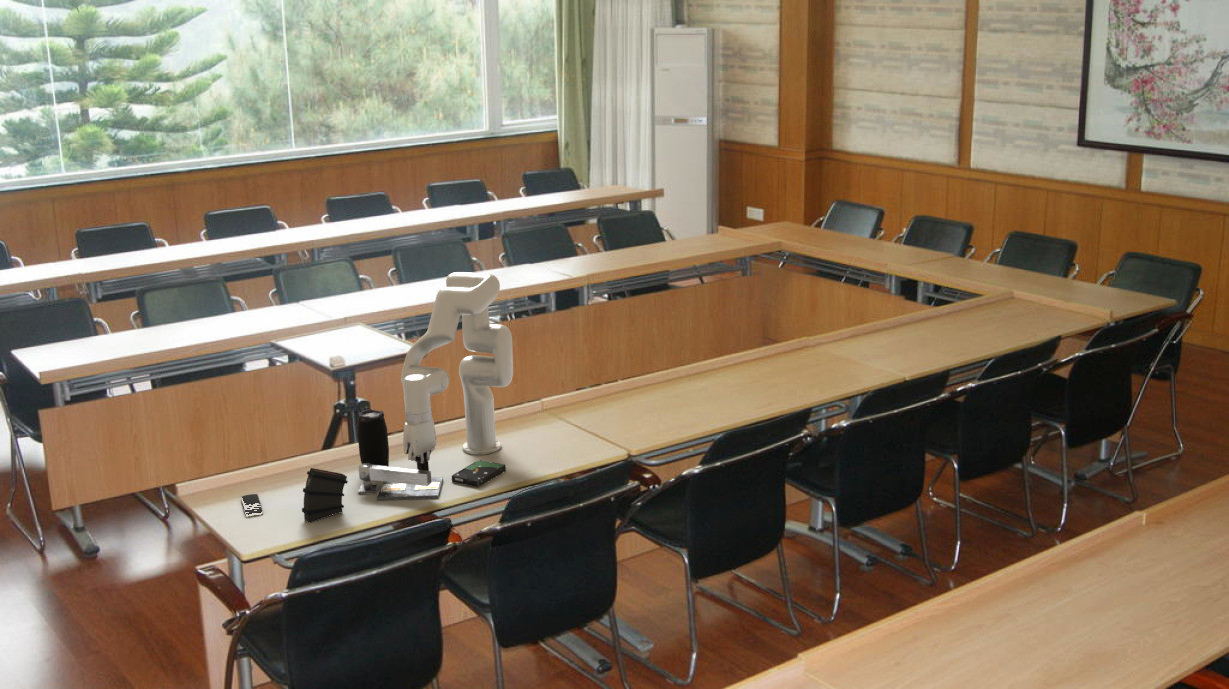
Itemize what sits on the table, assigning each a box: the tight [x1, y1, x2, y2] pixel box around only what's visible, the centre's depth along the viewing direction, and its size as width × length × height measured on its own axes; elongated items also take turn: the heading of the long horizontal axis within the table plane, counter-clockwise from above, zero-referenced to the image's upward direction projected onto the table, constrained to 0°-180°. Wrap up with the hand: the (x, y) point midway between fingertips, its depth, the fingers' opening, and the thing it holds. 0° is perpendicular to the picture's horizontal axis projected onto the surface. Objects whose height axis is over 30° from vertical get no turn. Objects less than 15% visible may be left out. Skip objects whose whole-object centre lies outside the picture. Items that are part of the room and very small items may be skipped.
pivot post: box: [357, 480, 379, 495], centre depth 362 cm, size 5×5×4 cm
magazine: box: [301, 467, 349, 523], centre depth 344 cm, size 4×13×15 cm, turn 130°
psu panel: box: [376, 476, 444, 501], centre depth 362 cm, size 14×18×1 cm
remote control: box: [241, 493, 264, 515], centre depth 353 cm, size 5×2×15 cm
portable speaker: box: [357, 408, 390, 467], centre depth 374 cm, size 9×9×20 cm
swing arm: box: [358, 463, 432, 486], centre depth 358 cm, size 4×23×4 cm, turn 71°
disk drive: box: [451, 459, 507, 489], centre depth 371 cm, size 10×3×15 cm
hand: (423, 473), depth 358 cm, fingers closed
